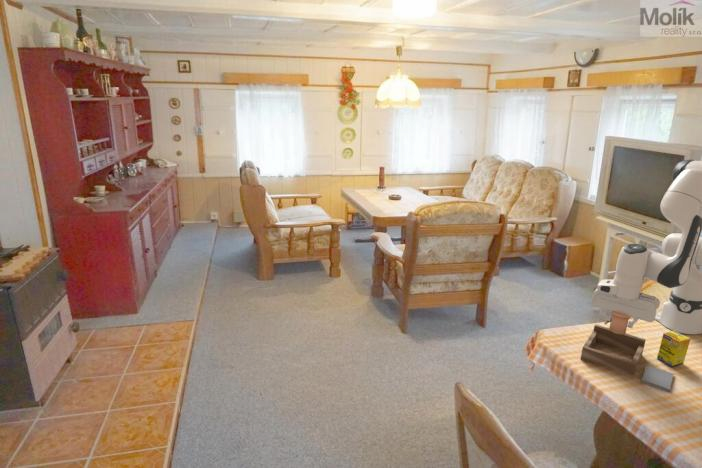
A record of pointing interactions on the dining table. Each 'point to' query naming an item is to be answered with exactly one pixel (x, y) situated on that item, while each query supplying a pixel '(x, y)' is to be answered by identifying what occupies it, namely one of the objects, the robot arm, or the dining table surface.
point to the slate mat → (657, 378)
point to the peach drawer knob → (619, 322)
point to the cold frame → (614, 341)
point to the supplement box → (673, 348)
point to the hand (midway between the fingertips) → (618, 323)
